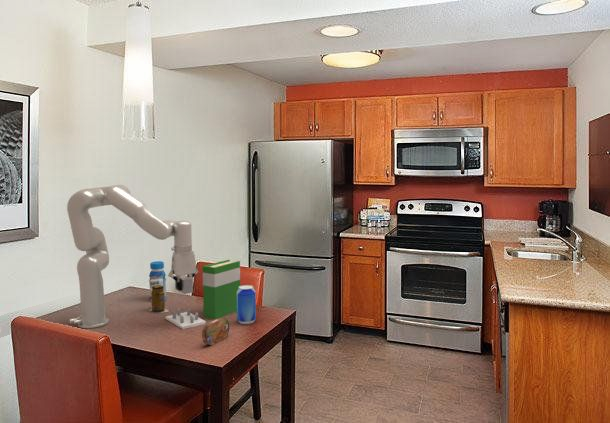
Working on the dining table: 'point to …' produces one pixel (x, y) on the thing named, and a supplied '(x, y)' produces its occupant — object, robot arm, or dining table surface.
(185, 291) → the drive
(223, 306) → the hardback book
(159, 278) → the beverage bottle
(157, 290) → the condiment
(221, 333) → the tin
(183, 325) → the white peg board
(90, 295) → the robot arm
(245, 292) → the beer can
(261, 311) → the dining table surface
